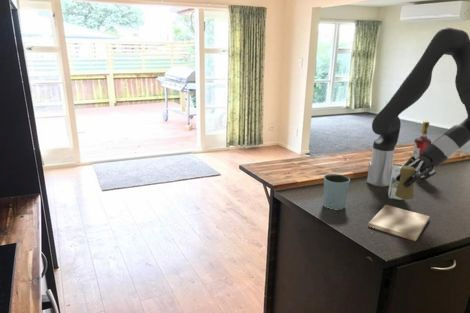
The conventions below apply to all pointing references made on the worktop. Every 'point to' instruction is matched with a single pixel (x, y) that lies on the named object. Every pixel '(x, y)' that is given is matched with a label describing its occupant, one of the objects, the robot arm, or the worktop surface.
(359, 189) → the worktop surface
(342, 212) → the worktop surface
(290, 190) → the worktop surface
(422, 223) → the birch board
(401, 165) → the syrup box
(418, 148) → the liquor
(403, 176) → the cork
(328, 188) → the blue-grey cup
